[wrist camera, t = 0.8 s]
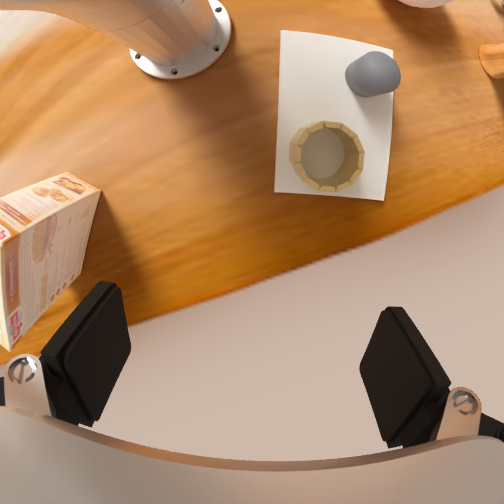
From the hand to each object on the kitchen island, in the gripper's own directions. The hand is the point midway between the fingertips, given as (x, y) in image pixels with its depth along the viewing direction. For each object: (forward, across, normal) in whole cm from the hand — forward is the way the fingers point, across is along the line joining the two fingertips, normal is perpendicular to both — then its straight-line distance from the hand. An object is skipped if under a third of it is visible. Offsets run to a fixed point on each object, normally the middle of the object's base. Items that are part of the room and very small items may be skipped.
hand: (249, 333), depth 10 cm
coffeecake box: (+26, +26, +7) cm, 38 cm away
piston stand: (+26, -9, -10) cm, 30 cm away
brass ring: (+25, -7, -5) cm, 27 cm away
